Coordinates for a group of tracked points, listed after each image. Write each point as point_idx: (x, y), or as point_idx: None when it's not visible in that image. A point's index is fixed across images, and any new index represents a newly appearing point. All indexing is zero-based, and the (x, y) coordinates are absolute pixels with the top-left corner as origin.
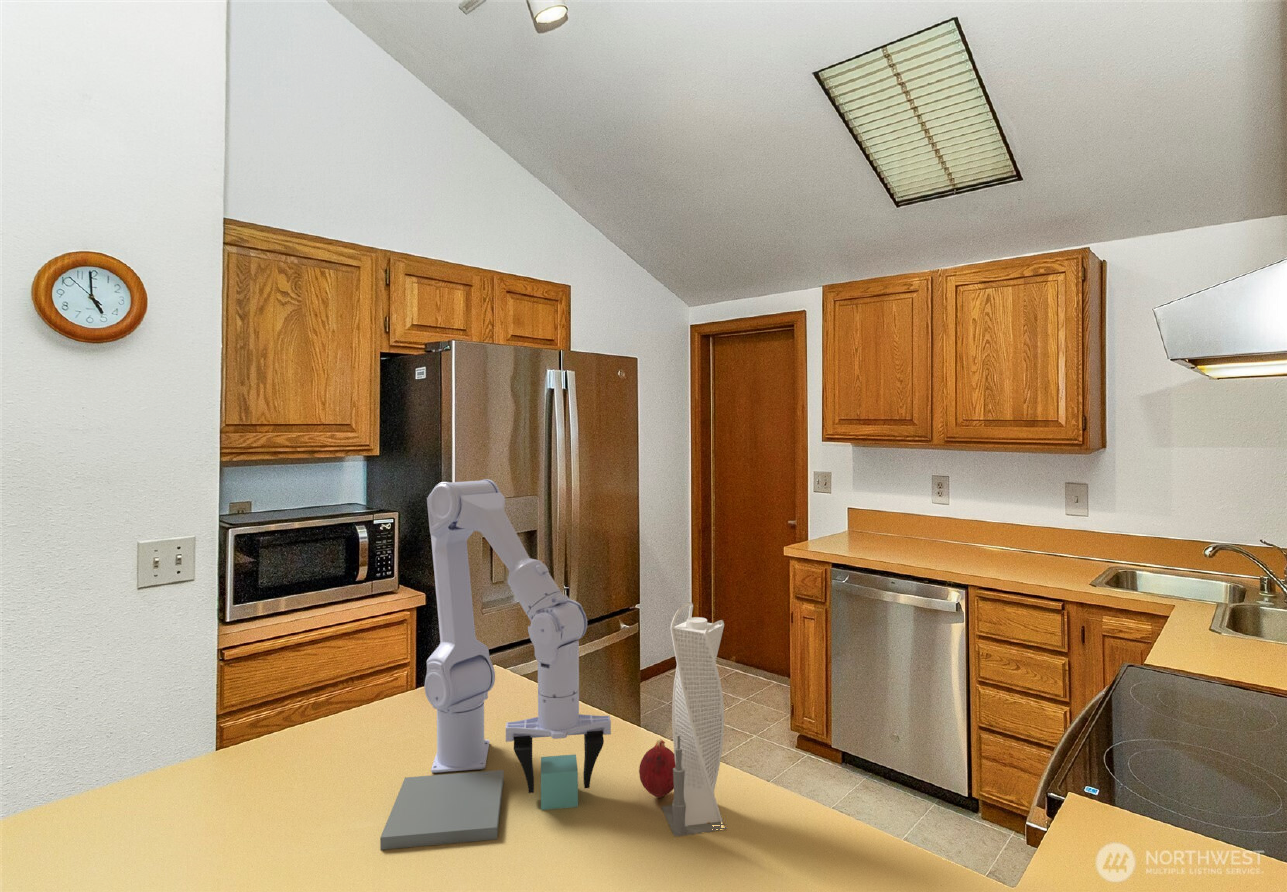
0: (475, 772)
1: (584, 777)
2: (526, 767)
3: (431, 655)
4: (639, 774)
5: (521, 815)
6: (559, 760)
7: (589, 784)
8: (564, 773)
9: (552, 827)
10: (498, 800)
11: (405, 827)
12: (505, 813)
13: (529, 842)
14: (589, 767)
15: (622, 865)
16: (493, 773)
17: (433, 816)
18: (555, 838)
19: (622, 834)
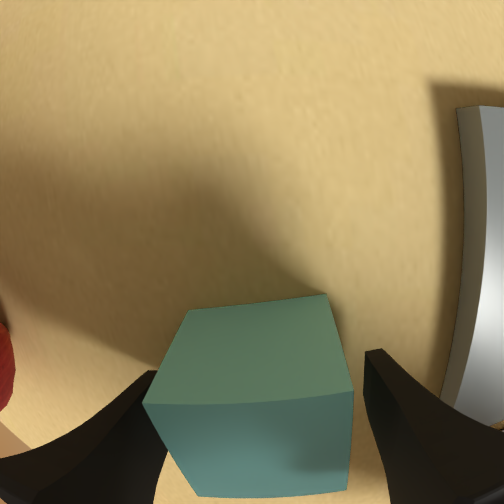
0: (501, 419)
1: None
2: (437, 412)
3: None
4: (1, 372)
5: (395, 257)
6: (260, 477)
7: (139, 377)
8: (213, 398)
9: (264, 169)
10: (483, 297)
11: None
12: (445, 269)
13: (340, 71)
14: (105, 419)
15: (37, 13)
16: None
17: None
18: (239, 94)
19: (32, 147)
